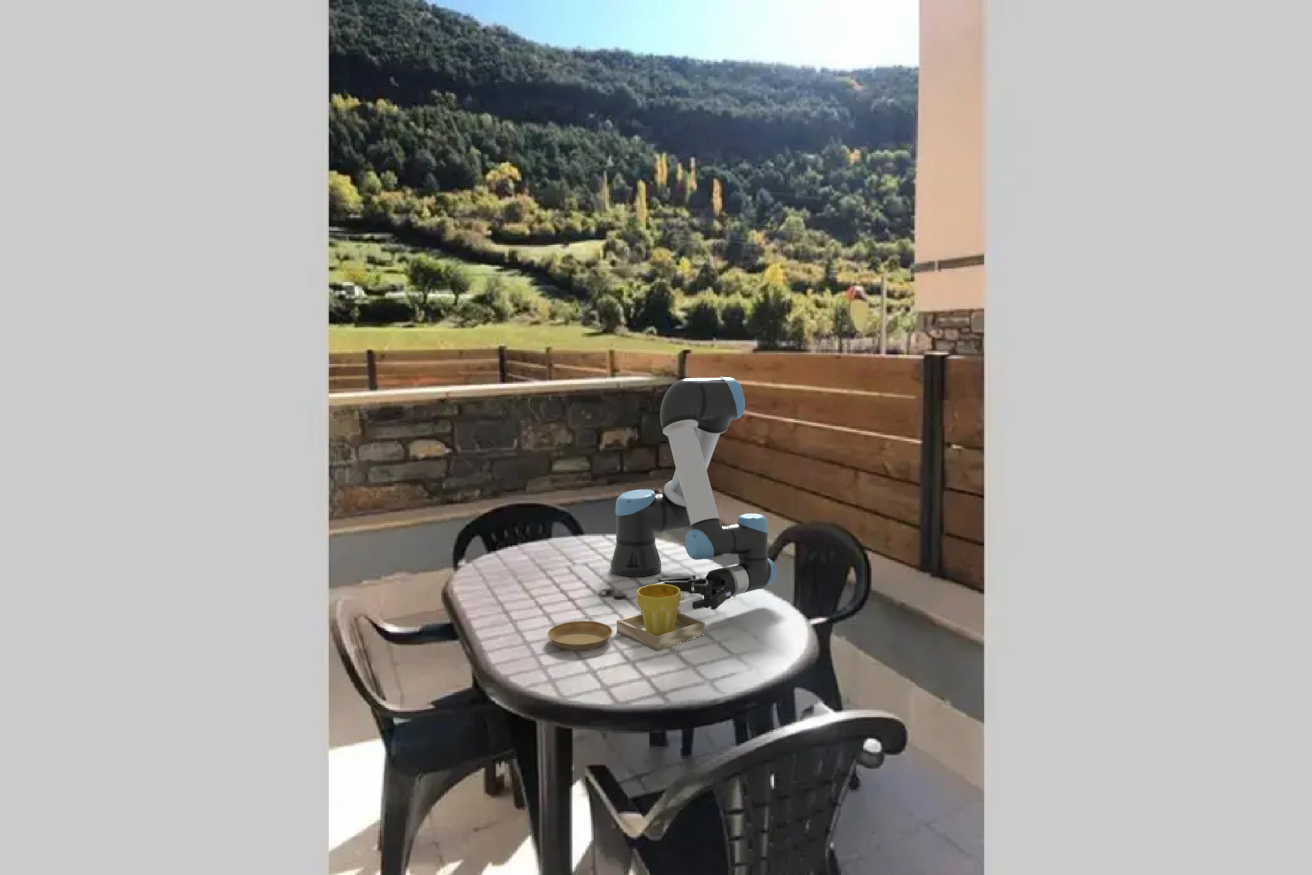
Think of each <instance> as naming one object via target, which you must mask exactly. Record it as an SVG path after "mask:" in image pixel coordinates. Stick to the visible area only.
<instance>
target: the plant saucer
mask: <svg viewBox="0 0 1312 875" xmlns="http://www.w3.org/2000/svg"><path fill="white" fill-rule="evenodd" d="M613 632H614V631H613V629H612V627H611V626H609V625H608V624H606V623H603V622H599V621H591V620H576V621H570V622H568V621H567V622H563V623H561V624H557V625H555V626H553V627H552V628H550V629H549V630H548V632H547V635H548V638H549V639H550V640H551V641H552V642H553V643H554V644H555V645H556V646H557V647H559V648H560V649H563V650H566V651H570V652H583V651H584V652H586V651H591V650H595V649H597V648H600V647H601V646H602V645H604V644H605V643H606V642H607V641H608V640H609V639H610V637H611V636H612V634H613Z"/></svg>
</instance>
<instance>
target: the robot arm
mask: <svg viewBox="0 0 1312 875" xmlns="http://www.w3.org/2000/svg"><path fill="white" fill-rule="evenodd" d="M745 407H746V398H745V395H744V391H743V388H742V386H741V384H740V383H739V382H738V380H736V379H735V378H733V377H724V376H719V377H704V378H703V377H697V378H696V377H694V378H693V377H686V378H682V379H679V380H678V381H676V382H674V383H673V384H672V385H670V387H669V388H668V389H667V390H666V392H665V394H664V396H663V399H662V402H661V404H660V413H659V414H660V417H659V418H660V425H661V430H662V434H663V435H665V436H667V438H668V442H669V445H670V450H671V453H672V457H673V461H674V465H675V471H674V473H673V477H672V480H669V481H668V482H666V483H665V484H664V487H663V490H662V492H660V493H655V491H654V490H653V489H646V488H645V489H635V490H634V489H633V490H629V491H627V492H626V491H625V492H624V493H621V494H620V495H619V496H618V497H617V498H616V502H615V510H614V512H615V539H616V541H615V542H616V543H615V547H614V551H613V554H612V559H611V560H610V571H611V572H612V573H614V574H615V575H619V576H623V577H648V576H653V575H656V574H658V573H659V572H661V571H662V561H661V558H660V555H659V551H658V548H657V545H656V534H659V533H668V532H678V531H686V530H688V531H687V533H686V534H685V537H684V541H685V543H684V547H685V551H686V553H687V555H688V557H690V558H691V559H692V560H695V561H696V560H697V561H699V560H712V559H714V558H721V557H726V556H727V557H729V556H734V555H737V558H738V559H737V560H738V563H734V564H729V565H726V566H724V567H720V568H716V569H712V570H710V571H709V572H707V574H706V576H705V577H699V578H697V576H696V575H694V574H692V575H688V576H678V577H663V578H658V580H657V583H656V584H668V585H673V586H676V587H678V588H679V589H680V590H681V593H684V592H686V593H689V594H691V595H694V594H695V595H696V596H694V597H691V598H687V599H682V600H681V601H680V602H679V607H678V612H679V613H680V614H686V613H689V612H693V611H696V610H700V609H703V608H704V609H708V608H710V609H711V610H717V609H718V608H719V607H720V606H721V605H722V604H724V602H725V601H727V600H730V599H731V597H733V598H736V597H737V596H739V595H742V594H745V593H748V592H752V591H756V590H761V589H763V588H766V587H768V586H771V585H772V584H773V583H775V581H776V579H777V575H778V571H777V568H776V565H775V563H774V562H773V560H772V559H770V558H769V557H768V534H769V529H768V519H767V517H766V516H765V515H763V514H760V513H759V514H758V513H743V514H740V515H738V517H737V521H736V522H737V523H736V524H735V523H734V524H729V525H722V523H721V520H720V517H719V512H718V509H717V505H716V501H715V497H714V493H713V489H712V486H711V482H710V478H709V474H708V468H709V465H710V462H711V460H712V457H713V454H714V451H715V448H716V445H717V443H718V441H719V438H720V435H721V434H724V433H725V432H727V431H728V429H729V427H730V423H731V422H732V420H735V421H736V420H738V419H740V418H742V417H743V415H744V412H745ZM689 529H691V530H689ZM697 594H699V595H698V596H697Z"/></svg>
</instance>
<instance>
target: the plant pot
mask: <svg viewBox="0 0 1312 875" xmlns="http://www.w3.org/2000/svg"><path fill="white" fill-rule="evenodd" d="M680 601H682V592H681V590H680V589H679V588H678V587H676V586H673V585H668V584H657V583H653V584H648V585H644V586H641V587H639V588H638V589H637V590H636V602H637V603H636V604H637V606H638V608H640V612H641V613H642V617H643V621H644V625H645V630H646V631H647V632H649V633H651V634H653V635H662V634H666V633H669V632H672V631H674V627H675V621H676V616H677V612H679V602H680Z"/></svg>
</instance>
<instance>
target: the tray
mask: <svg viewBox="0 0 1312 875" xmlns="http://www.w3.org/2000/svg"><path fill="white" fill-rule="evenodd" d="M705 625H706V623H705V622H704V621H701V620H700V619H696V618H694V617H691V616H689V615H686V614H685V613H683V614H680V613H679V611H677V616H676V621H675V627H674V631H672V632H669V633H666V634H662V635H653V634H651V633H649V632H647V631H646V630H645V625H644V621H643V617H642V612H641V613H638V614H634V615H630V616H628V617H627V616H626V617H624V618H621V619H616V633H617V634H619V633H620V634H619V635H621V634H622V635H621V636H624V637H625V638H627V637H628V638H627V639H629V640H632V641H635V642H637V643H638V642H639V643H638V644H640V643H641V645H643V646H645V647H648V648H649V649H651V650H653V651H656V652H658V650H659V651H661V650H664V649H668V648H670V647H674V646H676V645H678V643H679V644H681V643H680V642H682V643H684V641H685V642H688V641H690V640H689V639H691V640H693V639H692V638H694V637H697V638H700V637H702V636H701V635H703V634H705V631H706V630H705V628H706V627H705ZM705 635H706V634H705ZM699 636H700V637H699ZM703 636H704V635H703ZM694 639H695V638H694ZM687 640H688V641H687ZM675 644H676V645H675ZM669 646H670V647H669Z"/></svg>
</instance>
